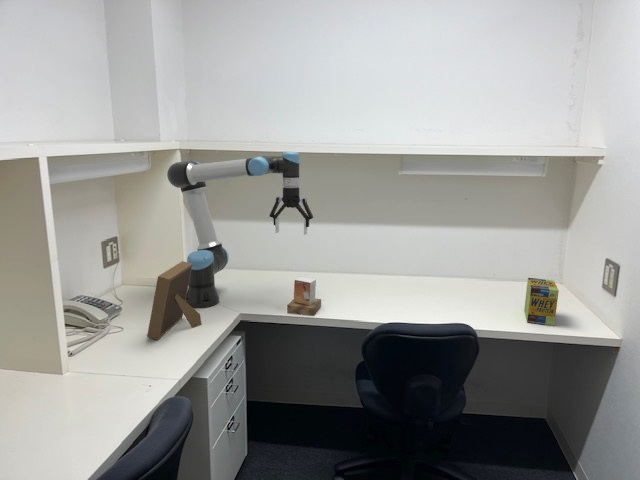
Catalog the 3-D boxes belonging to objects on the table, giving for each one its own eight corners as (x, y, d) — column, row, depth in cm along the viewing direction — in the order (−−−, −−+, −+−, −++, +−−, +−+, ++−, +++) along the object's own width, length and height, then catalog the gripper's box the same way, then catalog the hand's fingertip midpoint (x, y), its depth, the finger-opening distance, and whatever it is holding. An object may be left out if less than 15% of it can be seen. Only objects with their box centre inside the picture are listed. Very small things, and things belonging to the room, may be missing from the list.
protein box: (526, 323, 188) (530, 287, 185) (523, 310, 202) (527, 277, 199) (554, 326, 185) (559, 290, 181) (549, 313, 199) (554, 279, 195)
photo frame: (147, 339, 169) (143, 275, 164) (172, 317, 190) (169, 260, 185) (185, 342, 168) (182, 277, 162) (206, 320, 189) (204, 262, 183)
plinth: (287, 314, 197) (287, 305, 196) (295, 304, 208) (295, 296, 207) (314, 316, 194) (314, 308, 193) (321, 307, 205) (321, 299, 204)
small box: (293, 302, 199) (293, 279, 196) (299, 298, 204) (300, 276, 201) (309, 305, 196) (310, 282, 193) (315, 301, 200) (316, 279, 198)
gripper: (261, 186, 203) (262, 233, 207) (315, 188, 197) (315, 236, 201) (268, 185, 210) (268, 230, 214) (320, 187, 204) (319, 233, 208)
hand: (291, 233), depth 208 cm, fingers open, 13 cm apart
